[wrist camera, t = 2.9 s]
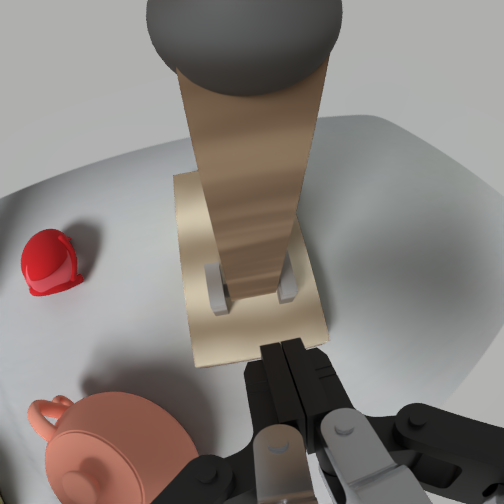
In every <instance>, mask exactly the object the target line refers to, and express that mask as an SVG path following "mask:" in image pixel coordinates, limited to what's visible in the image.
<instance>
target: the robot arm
mask: <svg viewBox="0 0 504 504" xmlns="http://www.w3.org/2000/svg"><path fill="white" fill-rule="evenodd" d="M259 347H260V353H261V359H262V360H257V361H252V362H248V363H247V366H246V368H245V371H244V378H245V384H246V390H247V396H248V402H249V408H250V413H251V419H252V424H253V437H252V439H251V441H250V443H249V444H248V445H247V446H246V447H245V448H244V449H243V450H241V451H239V452H238V453H235V454H233V455H231V456H229V457H226V458H224V459H223V458H221V457H219V456H215V455H202V456H199V457H196V458H194V459H192V460H191V461H190V462H189V463H187V465H186V466H185V467H184V468H183V469H182V470H181V471H180V472H179V473H178V474H177V476H176V477H175V478H174V479H173V480H172V481H171V482H170V483H169V484H168V485H167V486H166V487H165V488H164V489H163V490H162V492H161V493H160V494H159V495H158V496H157V497H156V498H155V499H154V500H153V501H152V502H151V503H150V504H318V501H317V498H316V497H315V494H314V490H313V486H312V481H311V476H310V471H309V466H308V462H307V457H306V450H307V453H308V454H312V453H316V456H317V458H318V461H319V472H320V475H321V477H322V479H323V481H324V484H325V486H326V488H327V490H328V493H329V495H330V497H331V499H332V502H333V504H432V502H431V501H430V499H429V498H428V496H427V495H426V493H425V491H428V492H430V493H434V494H436V495H439V496H442V497H446V498H449V499H452V500H455V501H459V502H462V503H466V504H504V428H502V427H497V426H494V425H490V424H487V423H483V422H480V421H476V420H473V419H470V418H466V417H463V416H460V415H456V414H453V413H450V412H447V411H444V410H441V409H438V408H435V407H432V406H429V405H426V404H422V403H413V404H409V405H406V406H404V407H403V408H402V409H401V410H400V411H399V412H398V413H397V415H396V416H385V417H370V416H366V415H364V414H362V413H361V412H359V411H357V410H356V409H355V408H354V407H353V405H352V403H351V401H350V399H349V397H348V395H347V393H346V391H345V389H344V387H343V385H342V383H341V382H340V380H339V378H338V376H337V375H336V372H335V370H334V368H333V367H332V364H331V362H330V360H329V358H328V356H327V355H326V354H325V353H324V352H322V351H321V350H320V349H318V348H313V349H308V350H306V349H305V346H304V344H303V342H302V339H301V338H300V337H299V338H294V339H290V340H285V341H281V342H280V343H279V342H276V343H271V344H266V345H261V346H259ZM424 490H425V491H424Z"/></svg>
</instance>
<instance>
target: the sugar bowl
mask: <svg viewBox="0 0 504 504" xmlns="http://www.w3.org/2000/svg"><path fill="white" fill-rule="evenodd" d="M44 416H47V417H52V418H57V419H58V420H57V422H56V424H55V425H53V424H51V423H50V422H49V421H48V420H47V419H46V418H45V417H44ZM28 420H29V422H30V424H31V426H32V427H33V429H34V430H35V431H36V432H37V433H38V434H39V435H40V436H41V437H42V438H43V439H45V440H46V441H48V443H47V447H46V452H45V468H46V474H47V477H48V481H49V483H50V485H51V488H52V489H53V491H54V493H55V495H56V496H57V498H58V499H59V500H60V502H61V503H62V504H150V503H151V502H152V501H153V500H154V499H155V498H156V497H157V496H158V495H159V494H160V493H161V492H162V490H163V489H164V488H165V487H166V486H167V485H168V484H169V483H170V482H171V481H172V480H173V479H174V478H175V477H176V476H177V474H178V473H179V472H180V471H181V470H182V469H183V468H184V467H185V466H186V465H187V463H189V462H190V461H191V460H192V459H194V458H196V457H199V455H198V452H197V450H196V447H195V445H194V443H193V442H192V440H191V438H190V436H189V435H188V434H187V432H186V431H185V429H184V428H183V427H182V426H181V425H180V424H179V422H178V421H177V420H176V419H175V418H174V417H172V416H171V415H170V414H169V413H168V412H167V411H165V410H164V409H163V408H161V407H160V406H158V405H157V404H155V403H153V402H151V401H150V400H147V399H145V398H143V397H141V396H137V395H134V394H131V393H125V392H114V391H113V392H103V393H98V394H93V395H91V396H88V397H86V398H83V399H81V400H80V401H78V402H76V403H75V404H74V403H73V402H72V401H71V400H69V399H68V398H66V397H65V396H62V395H58V396H56V397H55V398H53V400H52V402H51V401H47V400H36V401H34V402H32V404H31V405H30V406H29V409H28Z"/></svg>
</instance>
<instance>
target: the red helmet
mask: <svg viewBox="0 0 504 504" xmlns="http://www.w3.org/2000/svg"><path fill="white" fill-rule="evenodd" d="M69 240H71V238H70V237H66V235H65V234H64V233H62V232H61V231H59V230H56V229H46V230H43V231H40V232H38V233H37V234H35V235H34V236H33V237H32V238H31V239H30V240H29V241H28V243H27V244H26V246H25V248H24V250H23V253H22V257H21V269H22V273H23V275H24V277H25V280H26V283H27V284H28V286H29V287H30V288H29V291H30V293H31V294H32V295H33V296H46V295H50V294H54V293H58V292H62V291H65V290H68V289H70V288H72V287H75V286H76V285H78V284H80V283H82V282H83V276H82V275H81V274H78V275H77V257H76V253H75V250H74V248H73V247H72V245H71V244H70V242H69Z"/></svg>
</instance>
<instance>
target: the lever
mask: <svg viewBox="0 0 504 504" xmlns="http://www.w3.org/2000/svg"><path fill="white" fill-rule="evenodd" d="M146 13H147V14H146V21H147V28H148V32H149V35H150V38H151V41H152V44H153V45H154V47H155V49H156V51H157V53H158V54H159V56H160V57H161V58H162V60H163V61H164V62H165V64H166V65H167V66H168V67H169V68H170V69H171V70H172V71H174V72H175V73H176V74H177V76H178V80H179V85H180V90H181V95H182V99H183V104H184V109H185V113H186V118H187V123H188V127H189V131H190V136H191V141H192V145H193V149H194V154H195V158H196V162H197V167H198V171H199V175H200V179H201V184H202V188H203V192H204V196H205V200H206V204H207V208H208V212H209V217H210V221H211V225H212V229H213V233H214V236H215V240H216V244H217V248H218V252H219V256H220V260H221V264H222V268H223V271H224V275H225V279H226V283H227V286H228V290H229V294H230V298H231V301H234V300H240V299H245V298H250V297H256V296H261V295H266V294H272V293H276V290H277V286H278V282H279V278H280V274H281V270H282V266H283V263H284V259H285V255H286V251H287V247H288V242H289V238H290V234H291V230H292V226H293V222H294V218H295V214H296V209H297V205H298V201H299V197H300V192H301V188H302V184H303V179H304V175H305V171H306V166H307V162H308V157H309V153H310V148H311V144H312V139H313V134H314V130H315V125H316V120H317V116H318V111H319V106H320V101H321V96H322V91H323V86H324V81H325V76H326V71H327V66H328V61H329V56H330V52H331V51H332V49H333V47H334V45H335V43H336V41H337V39H338V36H339V32H340V29H341V23H342V13H343V12H342V1H341V0H148V2H147V12H146Z"/></svg>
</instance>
